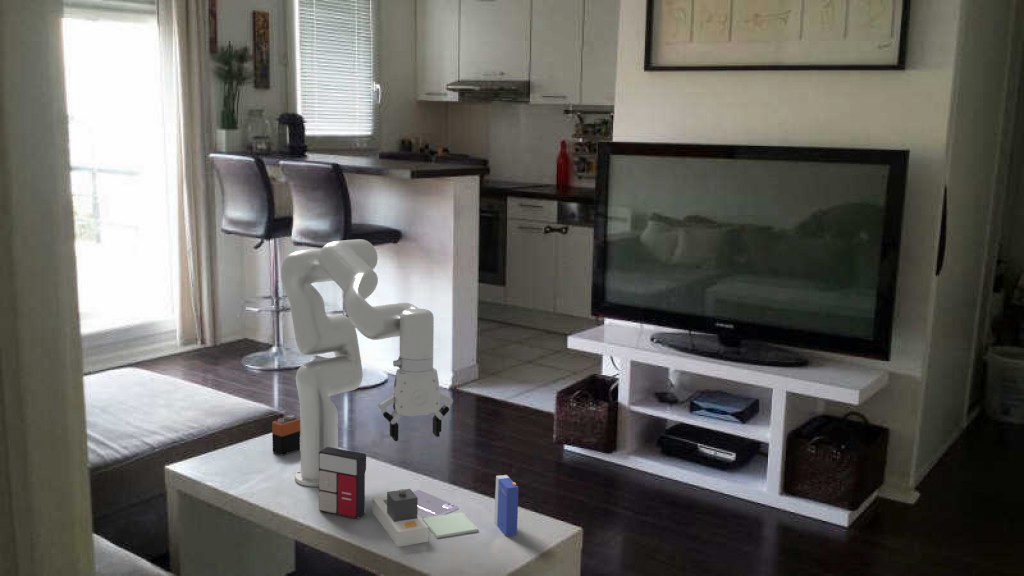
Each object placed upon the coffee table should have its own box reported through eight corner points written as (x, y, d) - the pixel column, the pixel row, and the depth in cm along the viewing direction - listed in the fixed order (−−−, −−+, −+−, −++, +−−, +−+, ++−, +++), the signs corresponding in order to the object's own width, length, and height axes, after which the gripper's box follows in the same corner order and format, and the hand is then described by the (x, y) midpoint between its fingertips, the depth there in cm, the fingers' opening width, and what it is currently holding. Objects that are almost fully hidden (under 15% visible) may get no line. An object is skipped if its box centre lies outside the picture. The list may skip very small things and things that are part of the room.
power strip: (372, 511, 219) (372, 495, 218) (400, 507, 222) (400, 491, 221) (397, 546, 201) (398, 529, 200) (427, 541, 204) (428, 524, 203)
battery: (301, 449, 259) (300, 415, 257) (282, 456, 253) (281, 421, 251) (290, 446, 261) (290, 412, 259) (271, 452, 256) (271, 418, 254)
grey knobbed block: (386, 518, 211) (387, 487, 209) (409, 515, 213) (410, 484, 212) (394, 528, 206) (394, 496, 204) (417, 524, 208) (417, 493, 207)
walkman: (517, 535, 209) (518, 485, 207) (505, 536, 208) (507, 486, 206) (505, 521, 216) (506, 473, 214) (494, 522, 215) (495, 474, 213)
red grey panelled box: (316, 511, 218) (316, 452, 215) (326, 505, 222) (326, 446, 219) (356, 520, 214) (357, 459, 211) (366, 513, 218) (366, 453, 215)
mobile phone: (418, 488, 232) (460, 505, 223) (418, 491, 233) (460, 509, 223) (396, 496, 227) (437, 514, 217) (395, 500, 227) (437, 518, 217)
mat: (422, 520, 215) (422, 518, 215) (461, 514, 219) (461, 512, 219) (436, 538, 206) (437, 535, 206) (477, 531, 210) (477, 528, 210)
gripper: (382, 371, 198) (382, 446, 201) (458, 365, 204) (457, 438, 207) (374, 362, 205) (374, 435, 208) (447, 357, 211) (446, 428, 214)
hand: (415, 437), depth 207 cm, fingers open, 9 cm apart
